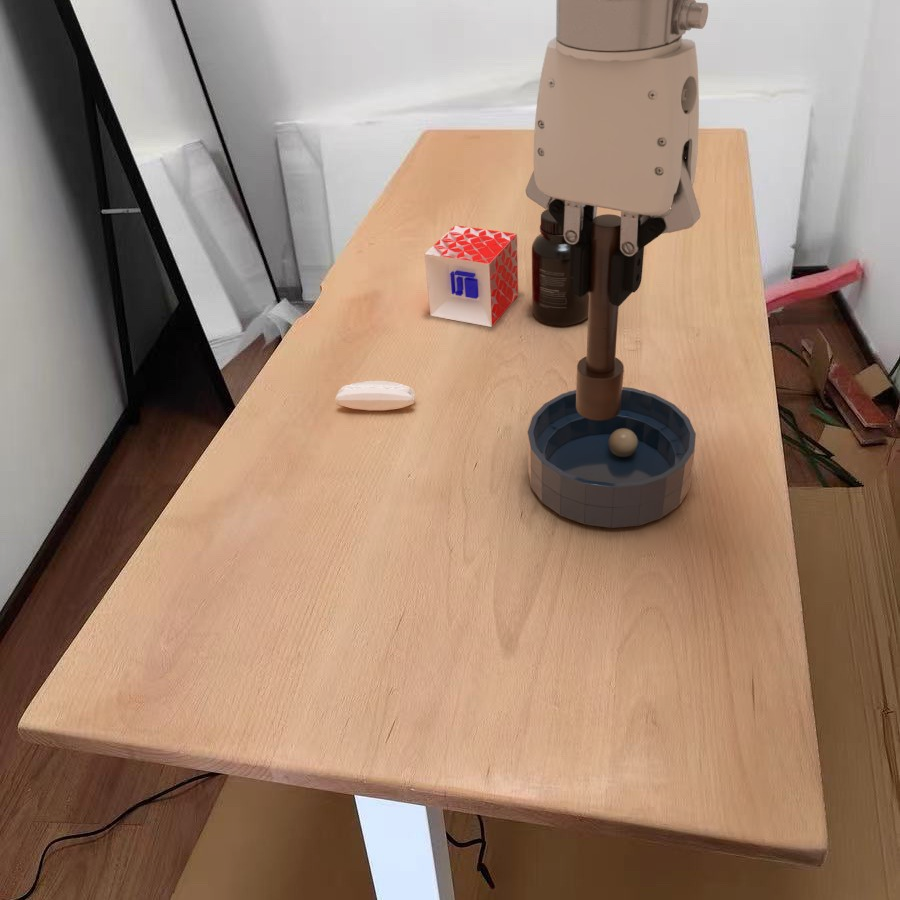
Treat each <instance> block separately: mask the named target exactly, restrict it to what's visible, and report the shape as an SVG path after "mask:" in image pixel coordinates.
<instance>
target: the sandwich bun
mask: <svg viewBox="0 0 900 900" xmlns="http://www.w3.org/2000/svg"><path fill="white" fill-rule="evenodd" d="M415 396H416V392H415V389H413V388H412V387H411V386H408V385H406V384H404V383H403V384H402V383H400V382H394V381H389V380H366V381H359V382H353V383H350V384H345V385H343V386H342V387H341V388H340V389H339V390H338V391H337V393H336V396H335V398H334V400H335V403H336V404H337V405H339V406H342V407H346V408H349V409H351V410H352V409H353V410H360V411H368V412H369V411H372V412H374V411H376V412H378V411H379V412H381V411H391V410H392V411H393V410H397V409H403V408H406V407H408V406H412V405H413V404H415Z"/></svg>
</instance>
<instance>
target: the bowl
mask: <svg viewBox="0 0 900 900" xmlns="http://www.w3.org/2000/svg"><path fill="white" fill-rule="evenodd" d="M621 428H626V429H629V430H631V431H632V432H634V433H635V435H636V436H637V439H638V446H637V449H636V451H635V452H634V453H633V454H632V455H630V456H628V457H619V456H616V455H615V454H613V453H612V451H611V450H610V448H609V438H610V436H611V434H612V433H613V432H614V431H615V430H617V429H621ZM696 439H697V434H696V431H695V428H694V427H693V424H692V422H691V419H690V418H689V417H688V416H687V415H686V414H685V413H684V412H683V411H682V409H680V408H679V407H678V406H677V405H676V404H674V403H672V402H671V401H668V400H667V399H665V398H663V397H661V396H660V395H657V394H655V393H652V392H648V391H644V390H641V389H637V388H634V387H626V386H622V399H621V410H620V412H619V414H618V415H616V416H615V417H613V418H611V419H608V420H602V421H597V420H590V419H587V418H585V417H583V416H581V415H580V414H579V413H578V412H577V410H576V389H574V390H571V391H567V392H564V393H561V394H559V395H557V396H555V397H554V398H552V399H550V400H548V401H546V402H545V403H543V404H542V406H540V408H539V409H538V410H536V412H535V413H534V414H533V415H532V417H531V419H530V423H529V426H528V429H527V474H528V478H529V484H530V488H531V489H532V491H533V492H534V494H535V495H536V496H537V498H538V499H539V501H540V502H541V503H542V504H543V505H545V506H546V507H547V508H549V509H551V511H554V512H555V513H556V514H557V515H559V516H561V517H562V518H566V519H569V520H570V521H571V520H572V521H573V522H577V523H579V524H583V525H586V526H594V527H602V528H610V529H613V528H614V529H615V528H626V527H639V526H642V525H645V524H648V523H651V522H654V521H657V520H660V519H663V518H664V517H665V516H667V515H668V514H669V513H671V512H672V511H674V510H675V509H677V508H678V507H679V506H681V504H682V502H683V500H684V498H686V495H687V494H688V493H689V491H690V485H691V478H692V472H693V466H694V465H693V464H694V458H695V450H696Z"/></svg>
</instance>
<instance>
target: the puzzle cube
mask: <svg viewBox="0 0 900 900" xmlns="http://www.w3.org/2000/svg"><path fill="white" fill-rule="evenodd" d="M518 258H519V256H518V234H517V233H513V232H507V231H499V230H492V229H484V228H479V227H471V226H464V225H457V224H455V225H454V226H453V227H451V229H449V230H448V231H447V232H446V233H445V234H444V235H443V236H442V237H441V238H440V239H439V240H438V241H436V243H434V245H432V246H431V247H430V248H429V249H428V250H427V251H426V252H425V253H424V263H425V272H426V284H427V295H428V306H429V315H430V317H435V318H440V319H446V320H453V321H456V322H462V323H468V324H473V325H477V326H478V325H479V326H483V327H489V328H493V327H494V326H495V324H496V323H497V322H498V321H499V319H500V318H501V317H502V316H503V315H504V314H505V312H507V310H508V309H509V307H510V306H511V305H512V304H513V303H514V302H515V300H516V299H517V298H518V297H519V268H518V267H519V261H518V260H519V259H518Z"/></svg>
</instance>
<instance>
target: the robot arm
mask: <svg viewBox="0 0 900 900" xmlns="http://www.w3.org/2000/svg"><path fill="white" fill-rule="evenodd" d="M555 8H556V9H555V11H556V12H555V37H554V38H552V39H550V40H549V41H548V42H547V45H546V49H545V54H544V57H543V63H542V68H541V72H540V74H541V75H540V79H539V86H538V91H537V100H536V109H535V116H534V117H535V118H534V120H535V121H534V133H533V171H532V173H531V176H530V178H529V179H528V183H527V185H526V186H525V195H526V197H527V198H528V199H530V200H531V201H532V202H534V203H536V204H537V205H539V206H540V207H542V208H543V209H545V210H546V209H548V210H549V212H550V214H551V215H552V216H553V218H554V219H555V220H556V222H557V223H558V224H559V225H560V227H561V228H562V229H563V230H564V234H563V235H564V239H565V241H566V242H567V243H569V244H571V248H570V277H571V278H573V279H574V280H573V295H574V296H578V297H582V296H584V295H585V294H586V293H587V292H588V291H589V285H590V261H591V237H592V220H593V219H594V218H595V217H597V214H598V212H597V211H598V208H601V209H608V210H612V211H616V212H617V211H618V212H619V211H620V217H621V230H620V243H619V249H618V250H617V251H616V252H615V253H614V254H613V256H612V261H611V279H610V296H609V302H611V304H612V305H615V306H619V307H621V305H622V304H623V303H624V302H625V301H626V300H627V298H629V296H631V294H632V293H636V292H637V290H639V288H640V287H641V283H642V279H643V266H644V254H645V247H646V246H648V244H650V243H651V242H652V241H654V240H656V239H657V238H659V236H661V235H662V234H671V233H675V232H679V231H683V230H687V229H691V228H692V227H693V226H694V225H695V224H696V223H697V222H698V220H699V219H700V218H701V211H700V207H699V204H698V201H697V197H696V194H695V191H694V188H693V186H694V183H695V180H696V173H697V166H698V165H697V164H698V163H697V162H698V152H699V151H698V149H699V125H700V124H699V123H700V122H699V121H700V119H699V118H700V91H699V88H700V87H699V69H698V57H697V48H696V43H695V41H694V40H692V39H688V38H683V35H685V34H686V32H687V31H691V30H692V29H696V30H703V29H704V28H705V26H706V23H707V21H708V15H709V5H708V3H707V2H697V1H696V0H556V4H555Z"/></svg>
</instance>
